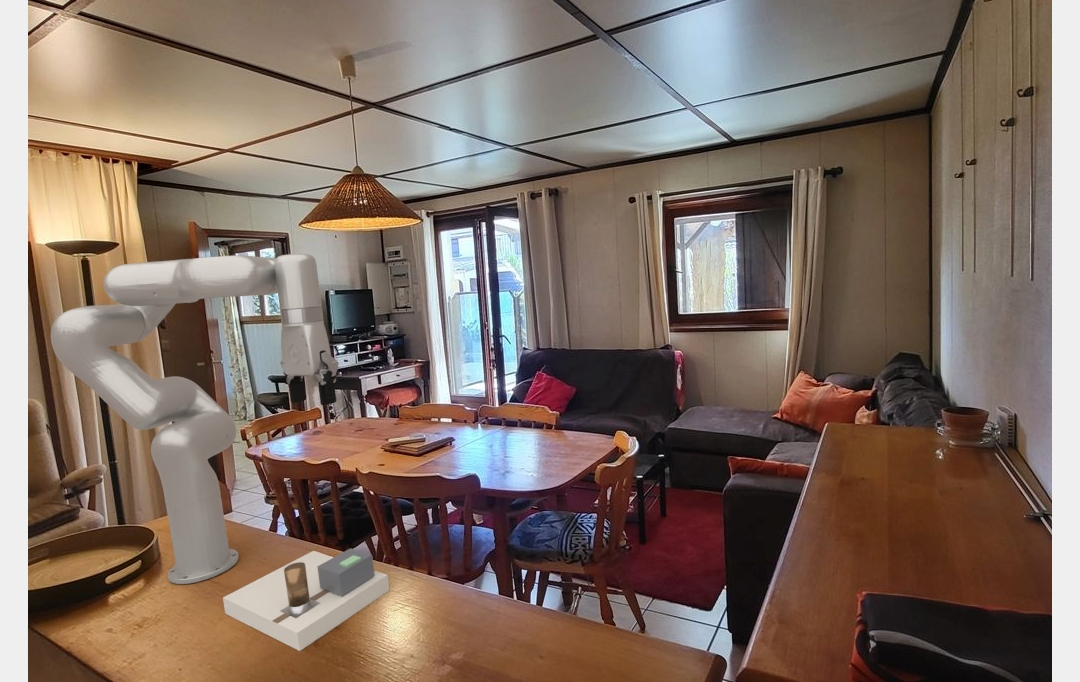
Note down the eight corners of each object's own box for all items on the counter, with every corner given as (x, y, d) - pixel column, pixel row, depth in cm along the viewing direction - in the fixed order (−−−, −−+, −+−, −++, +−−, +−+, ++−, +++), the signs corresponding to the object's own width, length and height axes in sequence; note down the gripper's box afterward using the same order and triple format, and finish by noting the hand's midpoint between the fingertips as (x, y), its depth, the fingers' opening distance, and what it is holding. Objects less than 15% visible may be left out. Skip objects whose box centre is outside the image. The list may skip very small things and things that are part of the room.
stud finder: (320, 587, 95) (317, 564, 94) (353, 568, 101) (350, 546, 100) (342, 596, 91) (338, 571, 91) (374, 575, 97) (371, 552, 97)
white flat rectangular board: (225, 613, 95) (222, 597, 95) (315, 564, 110) (313, 550, 110) (299, 651, 83) (297, 632, 83) (389, 590, 98) (387, 574, 98)
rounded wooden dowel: (288, 626, 90) (279, 569, 88) (305, 615, 92) (297, 560, 91) (299, 632, 88) (291, 574, 87) (316, 620, 90) (309, 564, 89)
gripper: (259, 321, 108) (271, 404, 109) (312, 318, 98) (324, 409, 100) (294, 317, 114) (304, 396, 116) (346, 314, 104) (357, 400, 106)
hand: (313, 402), depth 108 cm, fingers open, 9 cm apart
